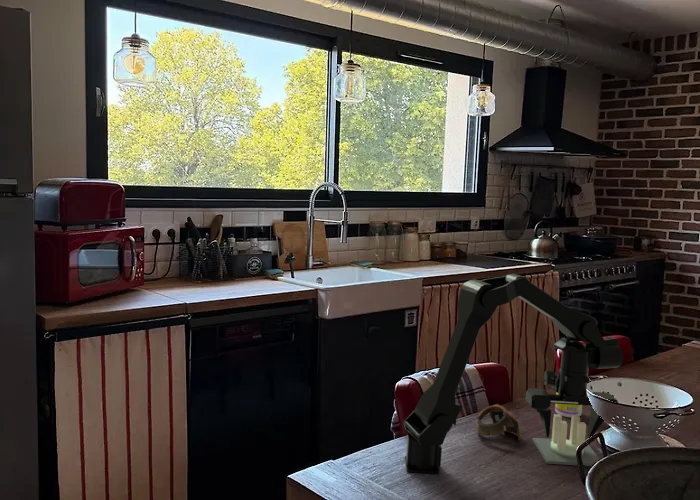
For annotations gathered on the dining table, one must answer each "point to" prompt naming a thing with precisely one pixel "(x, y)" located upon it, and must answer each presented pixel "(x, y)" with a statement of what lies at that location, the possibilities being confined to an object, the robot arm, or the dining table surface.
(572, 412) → the supplement bottle
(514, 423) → the brown curved piece
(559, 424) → the stool
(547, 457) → the mat
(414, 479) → the dining table surface
